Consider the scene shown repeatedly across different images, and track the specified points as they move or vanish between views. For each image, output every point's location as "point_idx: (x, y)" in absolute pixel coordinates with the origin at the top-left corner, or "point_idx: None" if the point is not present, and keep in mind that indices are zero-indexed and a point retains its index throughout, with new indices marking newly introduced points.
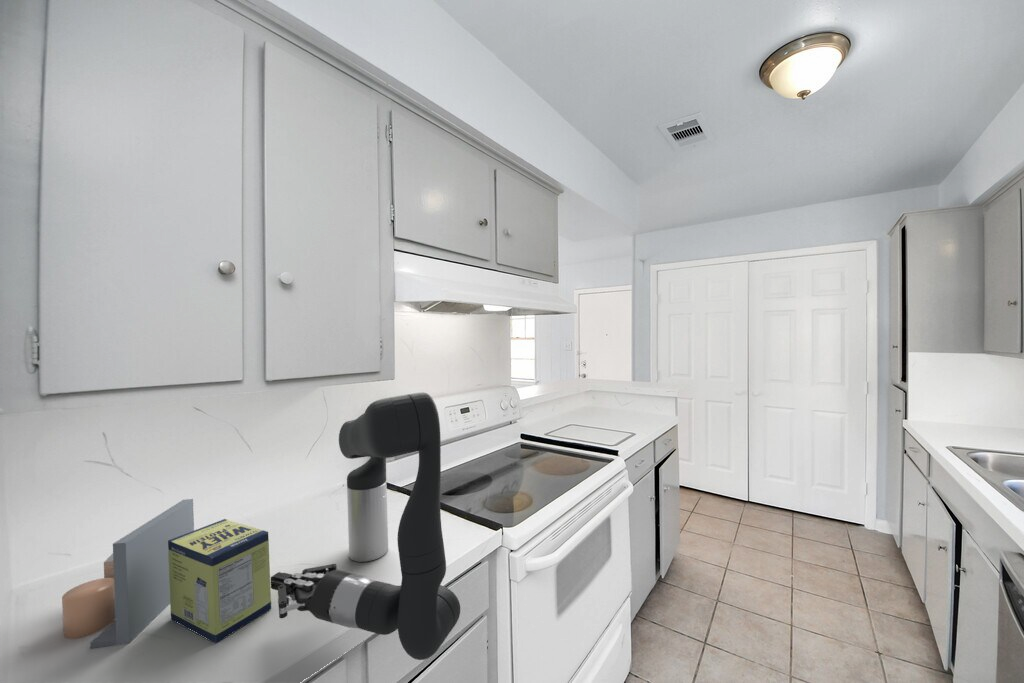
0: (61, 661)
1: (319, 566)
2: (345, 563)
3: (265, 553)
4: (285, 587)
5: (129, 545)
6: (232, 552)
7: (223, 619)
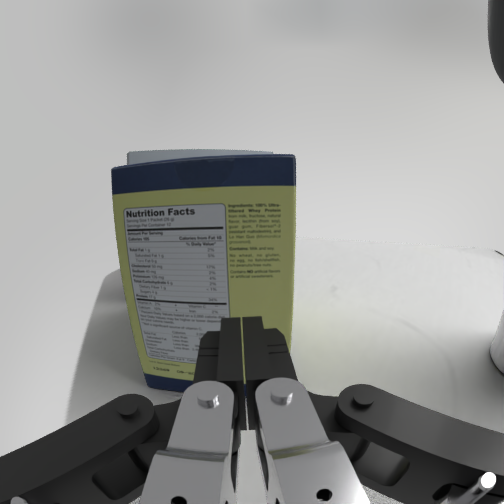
0: (117, 284)
1: (453, 418)
2: (481, 366)
3: (279, 231)
4: (126, 437)
5: (136, 159)
6: (162, 174)
7: (153, 353)
